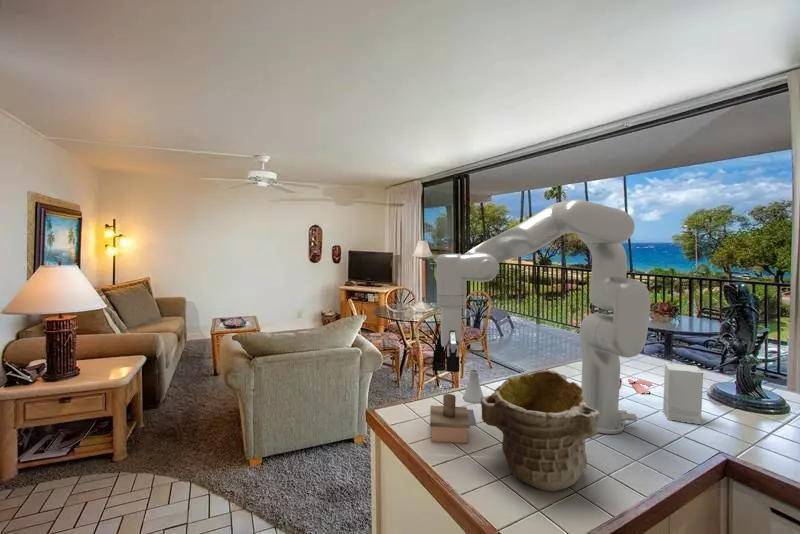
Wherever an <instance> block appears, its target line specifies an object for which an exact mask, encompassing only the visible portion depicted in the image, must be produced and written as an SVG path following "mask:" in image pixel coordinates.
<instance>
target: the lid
mask: <svg viewBox="0 0 800 534" xmlns="http://www.w3.org/2000/svg"><path fill="white" fill-rule="evenodd" d="M456 397H457V396H456V395H454V394H452V393H446V394H443V397H442V398H443V399H442V400H443V401H442V402H443V403H442V405H430V409H429V411H430V412H429V413H430V414H429V416H430V417H429V420H430V421H429V427H431V428H432V427H451V428H467V429H468V430H469V429H470V428H471V426H470V422H469V417H468V412H467V409H468V408H467V407H466V406H456V403H457V402H456V399H457V398H456Z"/></svg>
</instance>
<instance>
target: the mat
mask: <svg viewBox="0 0 800 534" xmlns="http://www.w3.org/2000/svg"><path fill="white" fill-rule="evenodd" d="M467 412H468V417H469V422H470V427H471V426H473V427H475V426H476V427H477V421H476V418H475V411H474V409H468V408H467Z"/></svg>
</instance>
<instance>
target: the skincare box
mask: <svg viewBox="0 0 800 534" xmlns="http://www.w3.org/2000/svg"><path fill="white" fill-rule="evenodd" d="M663 375H664V376H663V377H664V379H663V380H664V382H663V405H662V406H663V407H662V412H663V414H664V415H666V416H665V417H667V418H666V419H667V420H668V419H669V420H668V421H672V420H676V421H675V422H678V421H681V422H680V423H685V422H687V424H691V423H695V424H694V425H697V424H701V425H702V409H703V408H702V407H703V406H702V405H703V387H704V386H703V385H704V384H703V383H704V382H703V381H704V372H703V370H701V369H700V368H699V367H698V366H697V365H690V364H689V365H688V364H678V363H669V362H665V363H664V374H663Z"/></svg>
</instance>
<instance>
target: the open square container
mask: <svg viewBox="0 0 800 534" xmlns="http://www.w3.org/2000/svg"><path fill="white" fill-rule="evenodd" d="M431 442H437V443H456V444H457V443H458V444H468V428H451V427H432V426H431Z"/></svg>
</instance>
